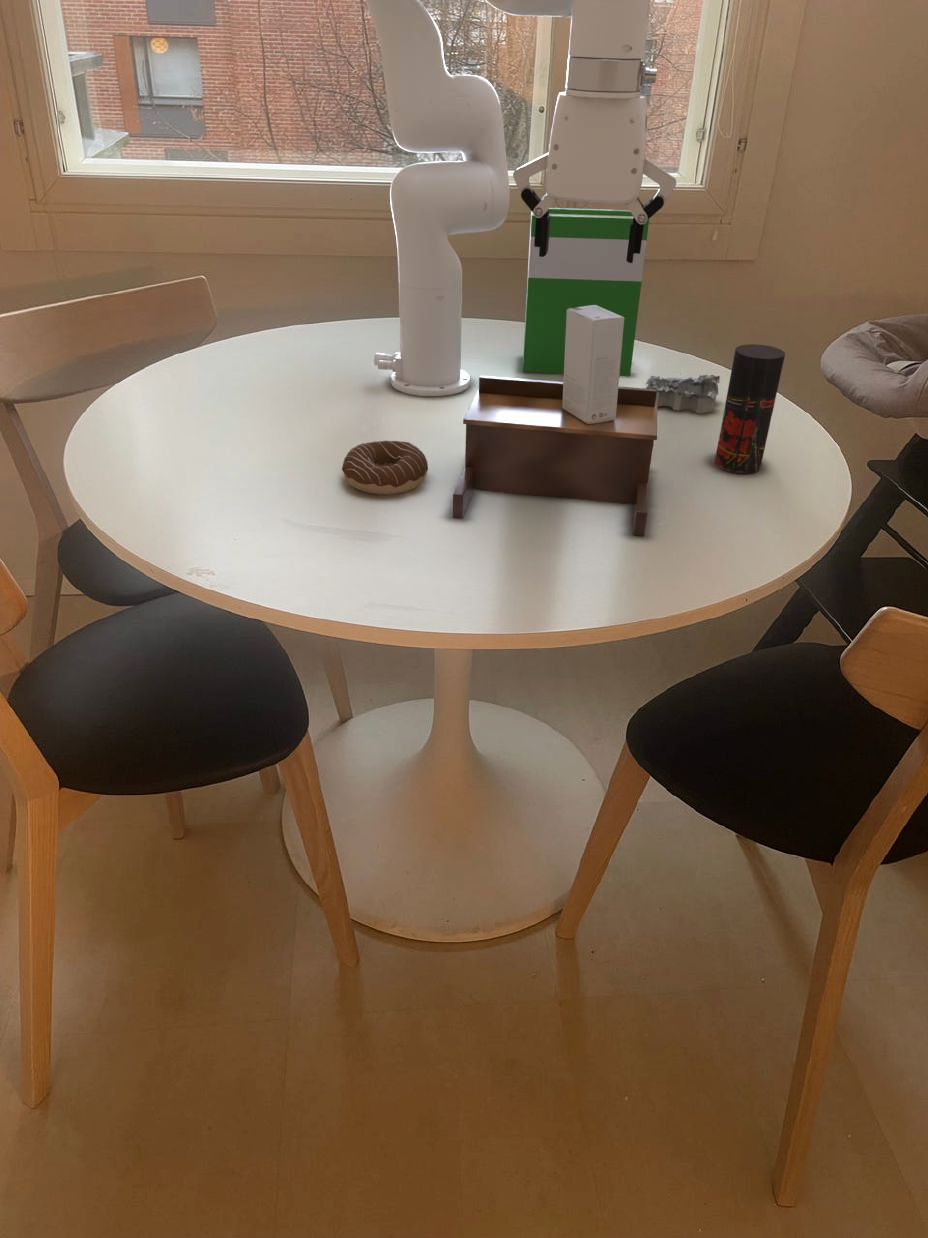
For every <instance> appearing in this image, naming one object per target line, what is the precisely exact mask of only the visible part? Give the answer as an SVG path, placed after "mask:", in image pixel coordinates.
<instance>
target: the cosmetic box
mask: <svg viewBox="0 0 928 1238" xmlns="http://www.w3.org/2000/svg"><path fill="white" fill-rule="evenodd" d="M623 327H624V317H622V316H620V315H618V314H615V313H613V312H611V311H608V310H606V309H604V308H601V307H599V306H597V305H590V306H583V307H576V308H569V309H567V316H566V338H565V359H564V374H563V381H562V382H563V401H562V408H563V409H564V410H566V411H567V412H569V413H571V414H572V415H574V416H576V417H577V418H579V419H580V420H582V421H584V422H585V423H587V424H595V423H601V422H608V421H612V420H615V418H616V408H617V397H618V386H619V385H620V384H619V383H620V376H619V373H620V362H621V350H622V338H623Z"/></svg>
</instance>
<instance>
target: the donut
mask: <svg viewBox="0 0 928 1238" xmlns="http://www.w3.org/2000/svg"><path fill="white" fill-rule="evenodd" d="M428 470H429V464H428V460H427V457H426V456H425V454H424V452H423V451H422V450H421V448H419V447H417V446H416V445H415V444H413V443H411V442H408V441H401V440H380V441H378V440H377V441H371V442H369V441H368V442H365V443H363V442H362V443H360V444H357V445H356V446H354V447H352V448H351V449H350V450H349V451H348V452H347V454H346V456H345V457H344V459H343V462H342V467H341V471H342V472H343V475H344V478H345V480H346V481H347V482H348V483H349V484H350V485H351V486H352V487H353V488H355V489H357V490H359V491H361V492H364V493H368V494H372V495H373V494H374V495H396V494H401V493H406V492H408V491H410V490H412V489H414V488H416V487H418V486H419V485H420V484H421V483H422V482H423V481H424V480H425V478H426V476H427V473H428Z"/></svg>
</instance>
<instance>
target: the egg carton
mask: <svg viewBox="0 0 928 1238" xmlns="http://www.w3.org/2000/svg"><path fill="white" fill-rule="evenodd" d="M720 378H721V377H720V375H714V374H710V375H709V374H703V375H699V376H698V377H697V378H694V377H692V376H691V377H690V376H689V377H688V378H679V377H667V378H666V377H663V378H662V377H661V378H660V376H656V375H651V376H650V377H649V378H648V379H647V381H646V382H645V384H646V385H647V386H646V388H647V389H657V395H656V402H655V404H656V405H657V408H658V407H663V406H665V407H670V408H672V410H674V411H681V410H692V411H694V412H695V413H696V414H699V415H700V414H701V415H702V414H704V413H711V412H712V411H713V409H714V405H715V404H716V400H717V396H718V395H719V384H720V382H721V381H720V380H721V379H720Z"/></svg>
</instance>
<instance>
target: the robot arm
mask: <svg viewBox="0 0 928 1238" xmlns="http://www.w3.org/2000/svg"><path fill="white" fill-rule="evenodd" d="M651 1H652V0H484V2H486V3H487V4H488V5H490V6H492V7H493V8H495V9H496V10H498V11H500V12H502V13H505V14H507V15H511V16H517V17H520V16H521V17H556V18H558V17H560V18H567V19H568V18H569V19H570V29H569V41H568V42H569V44H568V54H567V55H568V57H567V67H566V68H567V69H566V79H565V91H561V92H559V93H558V95H557V98H556V99H557V100H556V104H555V108H554V114H553V119H552V125H551V130H550V136H549V137H550V138H549V144H548V152H547V153H545V154H543V155H541V156H539V157H537V158H535V159H533V160H532V161H530V162H527V163H525V164H524V165H522V166H520V167H518V168H516V169H515V170H514V171H513V173H512V177H513V180H514V182H515V185H516V187H517V189H518V191H519V193H520V198H521V199H522V201H523V202H524V203H525V205H526V206H527V207H528V208H529V210H530V211H532V212H533V214H534V216H535V217H536V225H535V240H534V247H540V249H539V257H544V256H546V254H547V252H548V244H549V231H550V217H551V216H549V208H552V207H553V205H555V203H556V202H557V201H562V202H563V201H565V202H578V203H595V204H612V205H613V204H614V205H626V207H627V210H630V212H631V213H632V215H633V216H634V217H633V221H631V226H630V234H629V242H628V250H627V259H626V261H628V263H633V255H634V254H640V251H641V243H642V235H643V228H644V224H645V223H646V222H647V220H648V219H649V220H650V218H652V217H653V216H654V215H656V214H657V213H658V212H659V211H660V210H661V209H662V208H663V207H664V205H665V203H666V202H667V200H668V199H669V197H670V196H671V195H672V193H673V192H674V189H675V188H676V186H677V179H676V178H675V177H674V176H673V175H671V174H670V173H669V172H667V171H665V170H664V169H662V168H661V167H659V166H658V165H656V164H655V163H653V162H652V161H651V160H649V159H648V158H647V157H646V148H647V147H646V146H647V136H648V135H647V133H648V100H647V96H646V95H641V87H644V85H646V86H647V85H648V84H656V82H657V72H658V68H657V67H651V65H647V64H646V63H644V59H645V54H646V53H645V52H646V44H647V35H648V27H649V20H650V19H649V18H650V11H651ZM365 3H366V7H367V10H368V12H369V16H370V19H371V21H372V24H373V27H374V30H375V33H376V35H377V40H378V46H379V49H380V57H381V65H382V73H383V78H384V87H385V94H386V103H387V109H388V116H389V123H390V127H391V132H392V135H393V139H394V141H395V143H396V144H397V146H398V147H399V148H400V149H402V150H404V151H405V152H409V153H417V154H418V153H421V154H426V153H428V154H429V153H431V154H432V153H452V152H453V153H454V152H457V153H458V152H460V153H461V156H462V159H463V160H454V161H453V160H443V161H442V160H441V161H424V162H416V163H412V164H409V165H407V166H406V165H405V167H403V168H401V169H400V170H399V171H397V173H396V174H395V175H394V177H393V178H392V181H391V184H390V188H389V200H390V201H389V202H390V209H391V215H392V220H393V226H394V232H395V238H396V248H397V250H396V251H397V269H398V270H397V271H398V308H399V309H398V310H399V311H398V313H399V314H398V316H399V317H398V319H399V352H395V353H394V354H387V353H380V352H375V353H374V356H373V362H374V366H377V369H378V370H383V371H384V370H385V371H387V370H391V371H392V374H391V376H390V384H391V386H392V387H393V388H394V390H397V391H399V392H401V393H404V394H408V395H413V396H418V397H419V396H420V397H444V396H450V395H455V394H459V393H462V392H463V391H465V390H467V389H468V388H469V387H470V385H471V376H470V374H469V373H468V372H467V371H465V370H464V369H461V368H462V366H461V365H462V323H463V321H462V320H463V319H462V318H463V315H462V313H463V266H462V263H461V260H460V257H459V256H458V254H457V253H456V251H455V249H454V248H453V247H452V245H451V243H450V242H449V239H448V238H449V236H454V235H457V234H471V233H481V232H489V231H493V230H496V229H498V228H499V227H501V226H502V225H503V224H504V222H505V221H506V219H507V216H508V215H509V209H510V200H511V199H510V195H511V194H510V181H509V179H510V178H509V169H508V159H507V149H506V148H507V147H506V139H505V137H506V136H505V128H504V127H505V126H504V120H503V119H504V118H503V111H502V107H501V106H502V105H501V101H500V98H499V95H498V93H497V91H496V90H495V88H494V86H493V85H492V83H491V82H490V81H489V80H488V79H486V78H484V77H483V76H480V75H475V74H450V73H449V71H448V70H447V67H446V62H445V57H444V45H443V38H442V35H441V32H440V28H439V27H438V25H437V23H436V21H435V20H434V19H433V17H432V15H431V13H430V12H429V11H428V9H427V8H426V7H425V4H423V3H422V2H421V0H365ZM544 170H546V173H545V190H546V193H545V194H544V195H543V196H542V197H541V198H540V197H539V196H538V194H537V193H536V191H534V189H533V188H532V185H531V182H530V177H532V176H535V175H536V174H539V173H540V172H542V171H544ZM644 176H646V177H647V178H649V179H650V180H651V181H653V182H655V183H656V184H657V185H658V186H659V188H658V190H657V191H656V193H655V195H654V196H653V197H652V198H651V199H650V200H648V201H647V202H646V203H645V204H644V203H643V201H642V200H641V198H640V197H639V196H640V194H641V193H640V191H641V188H642V185H643V179H644Z"/></svg>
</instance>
